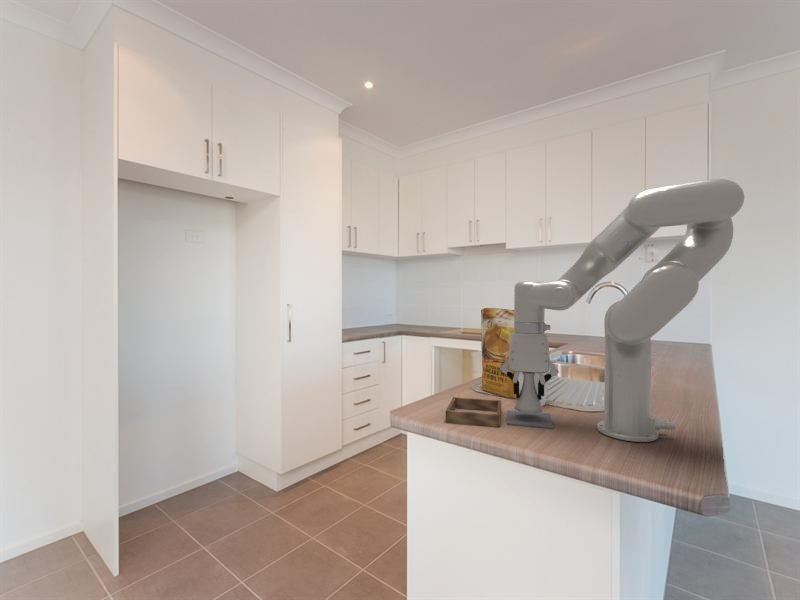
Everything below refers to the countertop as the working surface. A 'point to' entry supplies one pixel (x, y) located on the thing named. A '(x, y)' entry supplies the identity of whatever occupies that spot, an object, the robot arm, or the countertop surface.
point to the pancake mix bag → (496, 350)
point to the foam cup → (536, 381)
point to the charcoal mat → (529, 419)
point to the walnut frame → (474, 417)
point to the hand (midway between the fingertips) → (528, 397)
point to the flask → (528, 396)
